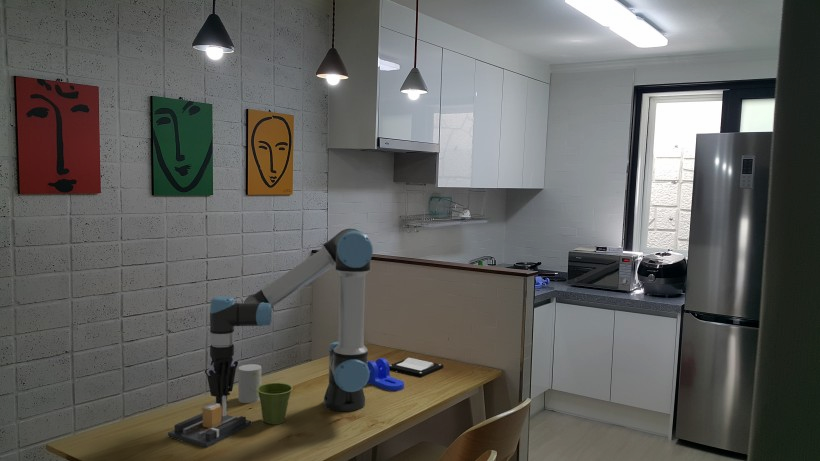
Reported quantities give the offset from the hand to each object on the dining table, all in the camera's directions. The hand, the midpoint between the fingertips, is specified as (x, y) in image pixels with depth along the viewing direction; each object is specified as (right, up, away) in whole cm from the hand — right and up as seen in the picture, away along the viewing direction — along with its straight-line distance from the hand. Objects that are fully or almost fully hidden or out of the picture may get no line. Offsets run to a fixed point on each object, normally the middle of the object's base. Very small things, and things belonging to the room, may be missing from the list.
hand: (221, 415), depth 202 cm
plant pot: (+16, -4, +6) cm, 18 cm away
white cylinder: (+3, -2, +26) cm, 26 cm away
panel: (-2, -4, -4) cm, 6 cm away
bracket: (+52, -2, +46) cm, 70 cm away
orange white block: (-2, -2, -4) cm, 5 cm away
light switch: (+64, -1, +69) cm, 94 cm away
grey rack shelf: (-2, -2, -4) cm, 5 cm away
